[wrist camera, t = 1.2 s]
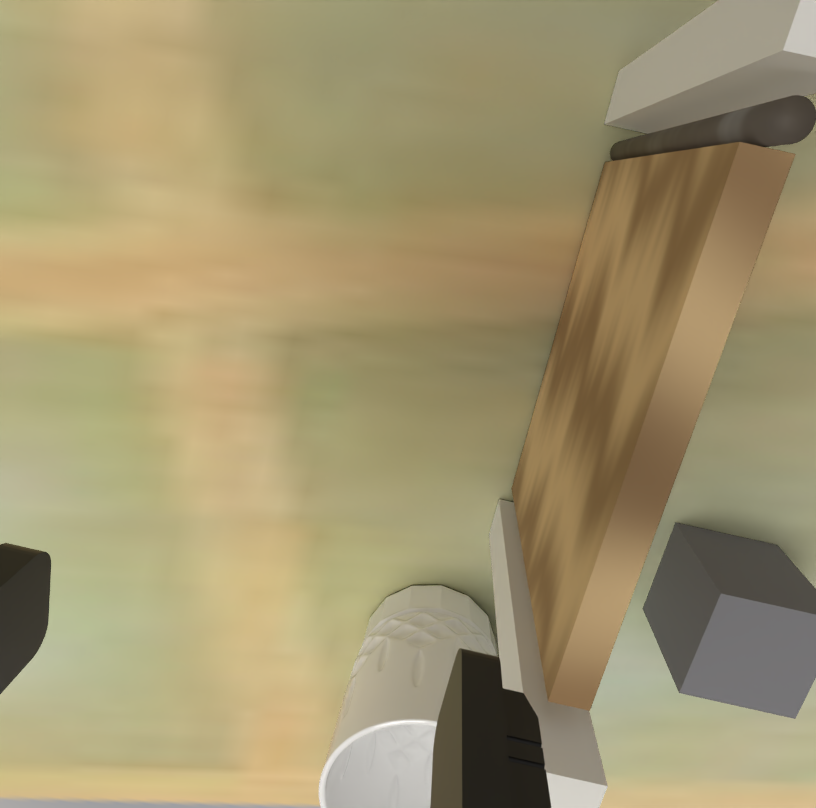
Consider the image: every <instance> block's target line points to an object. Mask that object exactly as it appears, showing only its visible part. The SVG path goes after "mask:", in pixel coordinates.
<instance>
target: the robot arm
mask: <svg viewBox="0 0 816 808" xmlns="http://www.w3.org/2000/svg"><path fill="white" fill-rule="evenodd" d="M50 575H51V559H50V556H49V554H48V553H47V552H43V551H39V550H34V549H30V548H26V547H21V546H17V545H13V544H8V543H4V544H1V545H0V694H1V693H2V692H3V691H4V690H5V688H6V687H7V686H8V685H9V684H10V683H11V682H12V681H13V679H14V678H15V677H16V676H17V675H18V674H19V673H20V672H21V670H22V669H23V668H24V667H25V666H26V665H27V664H28V663H29V662H30V660H31V659H32V658H33V657H34V656H35V654H36V653H37V651H38V649H39V648H40V646H41V644H42V641H43V639H44V637H45V634H46V630H47V626H48V616H49V595H50ZM541 745H542V740H541V733H540V726H539V719H538V716H537V715H536V713H535V711H534V710H533V708H532V706H531V705H530V703H529V701H528V700H527V698H526V696H525V695H524V693H521V692H517V691H513V690H508V689H504V688H503V686H502V674H501V663H500V658H499V657H497V656H493V655H488V654H484V653H480V652H475V651H471V650H466V649H462V648H459V650H458V652H457V654H456V657H455V661H454V664H453V668H452V671H451V674H450V678H449V681H448V685H447V688H446V692H445V695H444V699H443V702H442V706H441V709H440V713H439V716H438V721H437V726H436V731H435V738H434V746H433V763H432V784H431V805H430V808H551V802H550V795H549V788H548V781H547V774H546V770H545V769H544V767H545V761H544V754H543V748H541Z"/></svg>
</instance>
